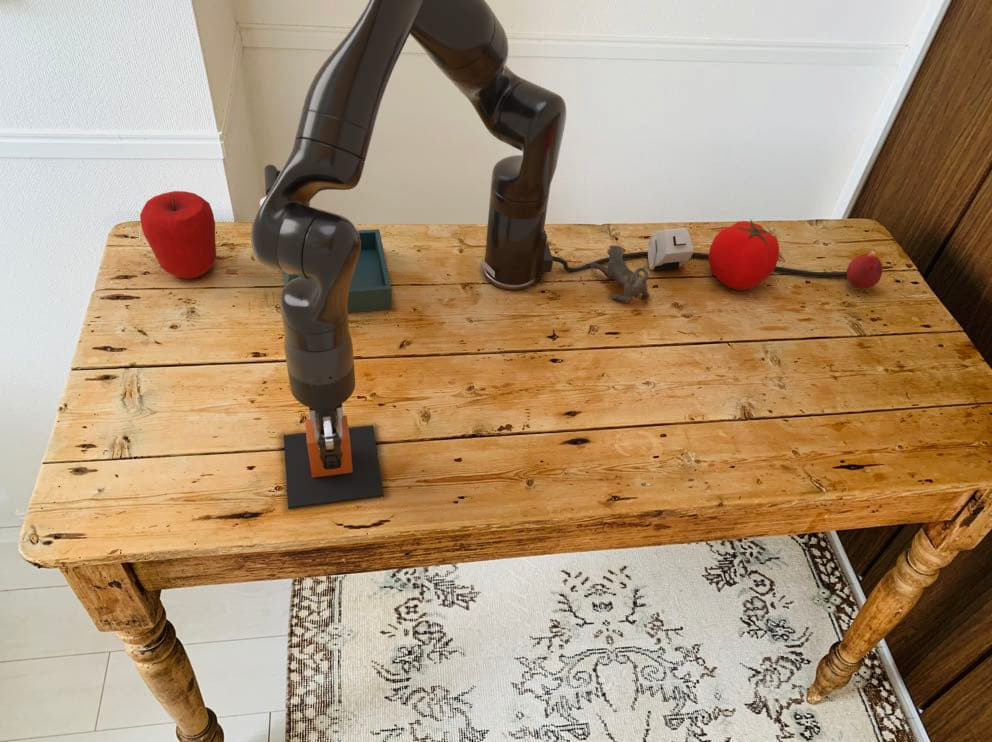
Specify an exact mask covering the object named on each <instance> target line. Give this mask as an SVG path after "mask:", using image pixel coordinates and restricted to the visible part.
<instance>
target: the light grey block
mask: <svg viewBox="0 0 992 742" xmlns="http://www.w3.org/2000/svg"><path fill="white" fill-rule="evenodd" d="M651 235H652V236H651V238H649V239H648V241H647V252H648V256H647V261H648V268H649V270H653V271H658V270H667V269H678V268H680V267H682V266H683V264H686V263H688V262H689V260H690V259H691V258H692V257H691V256H692V254H693V252H694V253H695V251H694V247H693V243H692V238H691V236H690V232H689V229H688V228H687V227H678V228H670V229H668V228H667V229H658V230H654V232H653V233H652V234H651Z"/></svg>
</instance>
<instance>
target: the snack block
mask: <svg viewBox="0 0 992 742" xmlns="http://www.w3.org/2000/svg"><path fill="white" fill-rule="evenodd" d="M336 419H337V416H336ZM304 423H305V433H306V436H307V446H308V453H309V459H310V466H311V473H312V478H314V477H322V476H330V475H337V474H345V473H353V470H352V458H351V446H350V436H349V429H348V428H349V421H348V415H343V418H342V429H343V436H342V437H341V443H340V445H341V452H342V456H341V458H342V459H341V467H340V468H337V469H329V470H327V469H324V467H323V462H321V459H320V451H319V445H318V443H317V441H318V440H316V439H315V437H314V429H313V422H312V421H311V420H310V418H309V419H305V421H304ZM317 425H318V421H317ZM337 425H338V423H337ZM337 425H336V427H337ZM318 428H319V426H318ZM319 429H321V428H319Z"/></svg>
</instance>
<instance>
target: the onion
mask: <svg viewBox="0 0 992 742" xmlns="http://www.w3.org/2000/svg"><path fill="white" fill-rule="evenodd" d="M883 269H884V268H883V264H882V261H881V260H880V259H879V258H878V256H877V254H876V252H875V251H874V250H870V251H869V253H863V254H859V255H857V256H856V257H854V258H853V259H852V260H851V261H850V262H849V263H848V265H847V268H846V273H847V277H846V278H847V280H848V281H849V283H850V285H851V286H852V288H853V289H856V290H866V289H870V288H872V287H874V286H876V285H877V284H878V283H879V281H880V280H881V278H882V276H883V275H882V274H883Z"/></svg>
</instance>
